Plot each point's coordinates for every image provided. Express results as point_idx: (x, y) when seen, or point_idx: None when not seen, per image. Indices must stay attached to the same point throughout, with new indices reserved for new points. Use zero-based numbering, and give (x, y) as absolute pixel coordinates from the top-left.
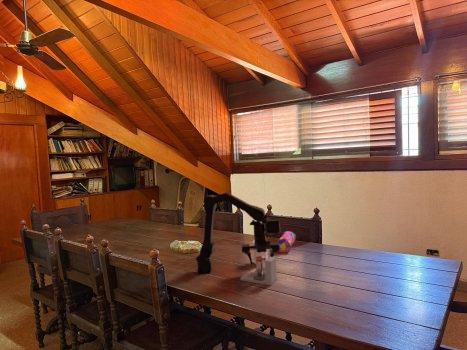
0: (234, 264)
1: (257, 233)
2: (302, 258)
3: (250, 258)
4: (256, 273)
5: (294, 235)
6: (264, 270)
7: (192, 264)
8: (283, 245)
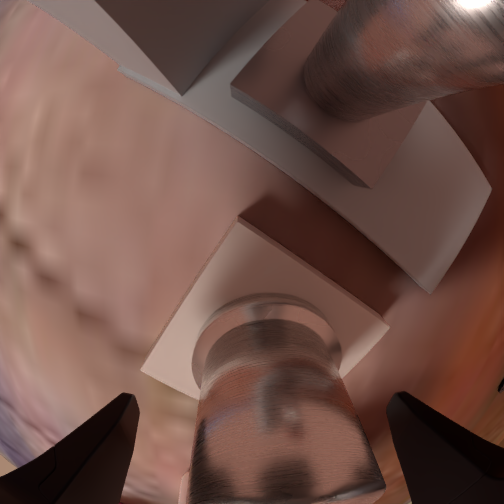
0: (388, 457)
1: None
2: (22, 434)
3: (468, 443)
4: (339, 289)
5: None
6: (232, 311)
7: (499, 418)
8: None
